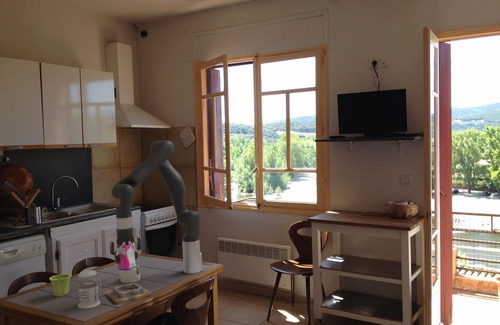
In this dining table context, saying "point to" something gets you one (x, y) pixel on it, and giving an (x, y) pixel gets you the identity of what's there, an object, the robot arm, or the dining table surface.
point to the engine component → (130, 274)
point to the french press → (85, 298)
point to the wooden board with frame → (127, 293)
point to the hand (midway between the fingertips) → (126, 261)
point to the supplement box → (126, 258)
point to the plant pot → (60, 284)
